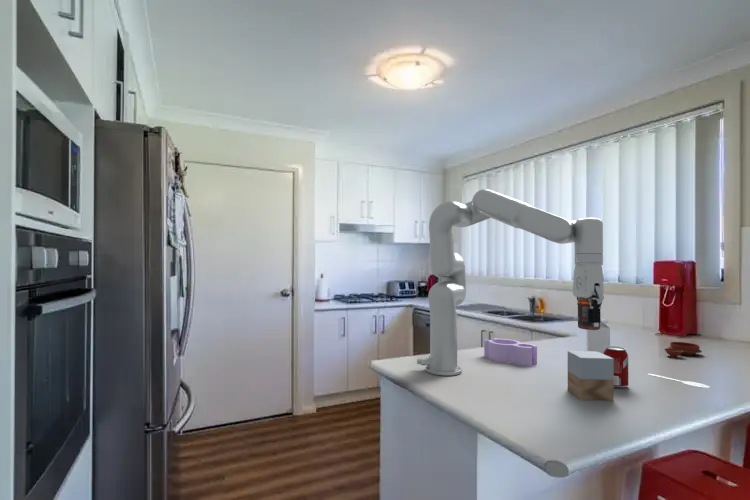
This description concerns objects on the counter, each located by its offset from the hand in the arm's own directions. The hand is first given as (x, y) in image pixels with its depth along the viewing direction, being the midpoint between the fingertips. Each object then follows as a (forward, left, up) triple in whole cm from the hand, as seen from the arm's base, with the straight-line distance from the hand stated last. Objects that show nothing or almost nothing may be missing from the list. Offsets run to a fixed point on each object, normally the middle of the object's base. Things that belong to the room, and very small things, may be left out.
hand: (588, 320), depth 121 cm
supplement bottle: (0, 0, -3) cm, 3 cm away
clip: (-11, +42, -22) cm, 49 cm away
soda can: (+13, +10, -22) cm, 28 cm away
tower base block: (0, 0, -22) cm, 22 cm away
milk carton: (+20, +36, -22) cm, 47 cm away
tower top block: (0, 0, -16) cm, 16 cm away
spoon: (+37, +18, -22) cm, 47 cm away
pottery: (+65, +58, -22) cm, 90 cm away
